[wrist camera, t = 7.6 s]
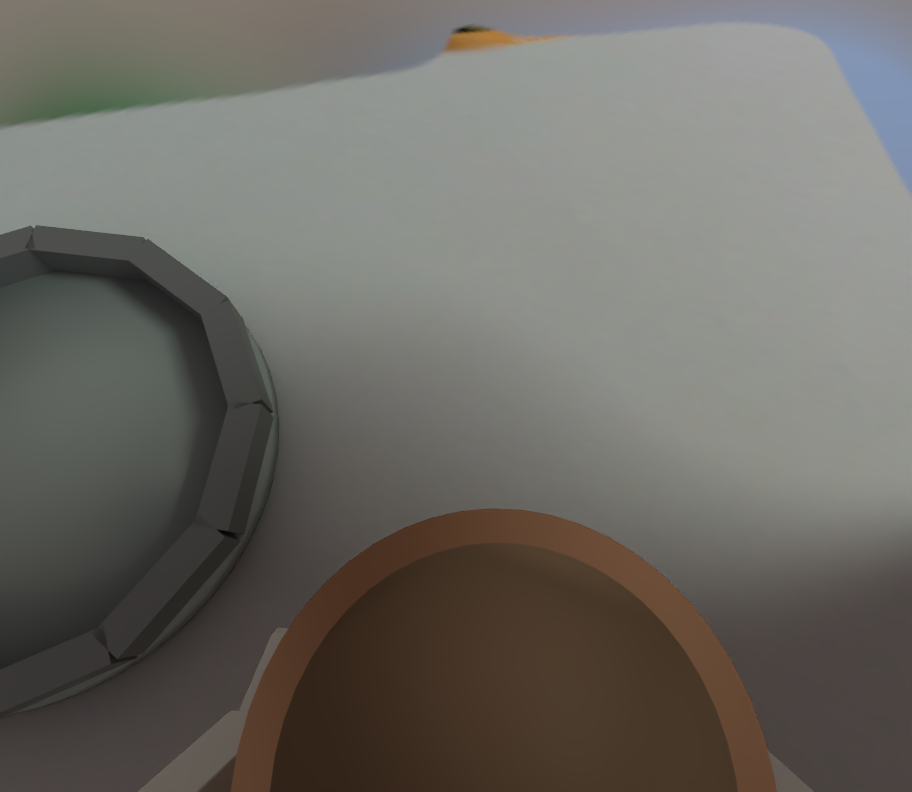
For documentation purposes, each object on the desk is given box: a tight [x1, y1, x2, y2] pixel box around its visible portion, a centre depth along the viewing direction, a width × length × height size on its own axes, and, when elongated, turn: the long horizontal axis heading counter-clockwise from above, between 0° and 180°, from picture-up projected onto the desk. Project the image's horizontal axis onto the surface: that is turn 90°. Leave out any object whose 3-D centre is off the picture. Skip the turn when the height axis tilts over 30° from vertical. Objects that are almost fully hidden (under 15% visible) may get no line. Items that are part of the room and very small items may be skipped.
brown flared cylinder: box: [231, 509, 777, 792], centre depth 10 cm, size 6×6×10 cm
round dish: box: [0, 225, 279, 719], centre depth 20 cm, size 18×18×2 cm
